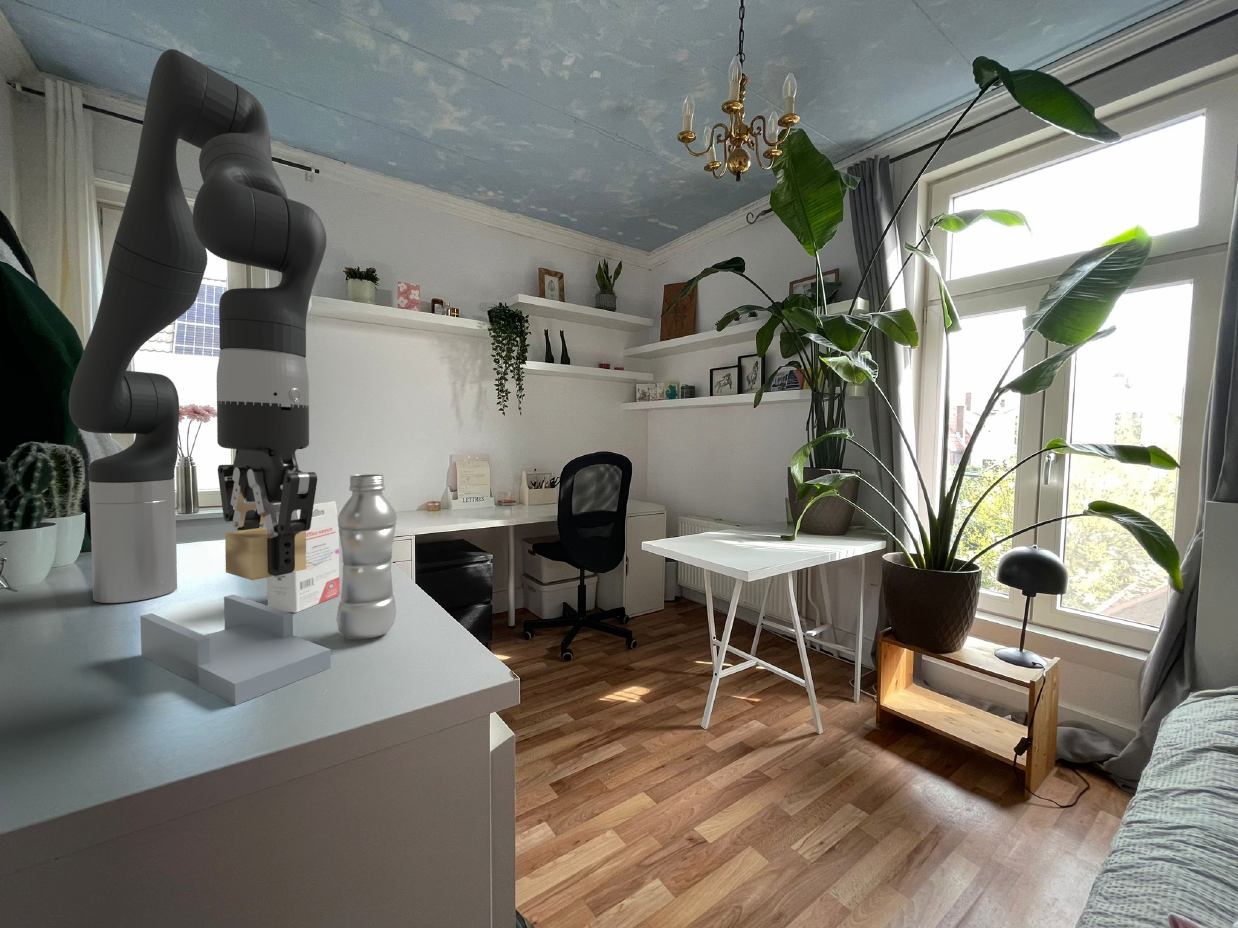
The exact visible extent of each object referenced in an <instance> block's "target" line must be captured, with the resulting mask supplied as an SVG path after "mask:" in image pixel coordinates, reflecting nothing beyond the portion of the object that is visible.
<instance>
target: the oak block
mask: <svg viewBox="0 0 1238 928" xmlns="http://www.w3.org/2000/svg"><path fill="white" fill-rule="evenodd" d="M224 535H225V536H224V538H225V539H224V540H225V541H224V543H225V545H224V547H225V548H224V549H225V573H226V574H230V575H232V576H237V577H239V578H244V579H247V580H249V581H256V580H261V579H267V577H271V576H273V575H270V574H269V573H268V553H267V538H269V536H268V533H267V529H266V526H265V527H264V526H263V527H259V528H257V529H249V530H241V531H238V530H234V531H227V532H225V533H224ZM305 569H306V531H301V532H299V534H297V535H295V569H294V571H293V572H295V571H300V570H305Z"/></svg>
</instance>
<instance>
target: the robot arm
mask: <svg viewBox="0 0 1238 928" xmlns="http://www.w3.org/2000/svg"><path fill="white" fill-rule="evenodd" d="M267 117H268V116H267V114H266V111H265V109H264V107H263V105H262V104H261V102H260V101H259V99H258V98H256V97H255V96H254V95H253V94H252V93H251V92H249V91H248V90H247V89H245V88H244V87H242V86H241V85H239V84H238V83H235V82H234V81H232V80H230V79H228V78H227V77H225V76H224V75H221V74H220V73H218V72H217V71H215V70H213V69H211V67H208V66H206V65H205V64H203V63H201V62H199V61H198V60H196V59H195V58H192V57H191V56H189V55H187V54H186V53H184V52H182V51H180V50H178V49H173V48H170V49H166V50H164V51H163V53H161V55H160V56H159V58H158V59H157V61H156V64H155V66H154V69H153V71H152V75H151V80H150V84H149V87H148V93H147V99H146V105H145V110H144V116H143V122H142V127H141V133H140V140H139V146H138V150H137V155H136V156H137V157H136V161H135V167H134V171H133V174H132V175H133V176H132V180H131V184H130V187H129V191H128V194H127V196H126V197H127V198H126V200H125V205H124V208H123V210H122V215H121V218H120V220H119V224H118V228H117V230H116V233H115V234H116V235H115V237H114V241H113V244H112V248H111V252H110V256H109V261H108V265H107V270H106V275H105V278H104V284H103V289H102V294H101V298H100V301H99V306H98V310H97V313H96V317H95V321H94V324H93V327H92V330H91V332H90V335H89V337H88V340H87V342H86V344H85V347H84V350H83V352H82V355H81V358H80V360H79V362H78V365H77V368H76V371H75V373H74V375H73V379H72V382H71V385H70V390H69V395H68V412H69V417H70V419H71V422H73V425H75V426H76V427H77V428H78V429H79V430H81V431H84V432H88V433H93V434H94V433H95V434H116V435H117V434H121V435H124V434H125V435H128V434H129V435H133V434H134V435H135V438H134V441H133V443H132V444H131V445H130V446H128V447H127V448H125V449H124V450H121V451H119V452H117V453H114V454H112V455H111V454H110V455H108V456H104V457H101V458H98V459H95V460H93V461H91V463H89V466H88V480H89V481H88V484H89V485H88V486H89V487H88V488H89V513H90V515H89V516H90V541H91V542H90V543H91V568H92V569H91V576H92V600H93V601H94V602H96V603H101V604H103V603H104V604H109V603H110V604H117V603H118V604H119V603H128V602H136V601H143V600H148V599H154V598H158V597H160V596H164V595H167V594H170V593H173V592H174V591H176V590H177V589H178V569H177V568H178V565H177V563H178V562H177V561H178V560H177V559H178V558H177V556H178V555H177V521H176V520H177V519H176V516H177V515H176V513H177V512H176V491H175V490H176V489H175V487H176V485H175V484H176V483H175V478H176V477H175V468H176V465H177V460H178V452H179V451H178V449H179V448H178V447H179V443H178V442H179V424H180V423H179V422H180V421H179V420H180V401H179V394H178V389H177V387H176V385H175V384H174V382H173V381H172V379H171V378H169V377H168V376H166V375H164V374H160V373H155V372H145V371H134V370H128V367H129V365H130V363H131V362H132V360H133V358H134V357H135V354H136V353H137V352H138V351H139V349H140V348H142V346H143V345H145V343H146V342H148V341H149V340H150V339H151V338H153V337H154V336H155V335H157V334H158V333H159V332H161V331H163V330H164V329H166V328H167V327H168V326H170V325H171V324H172V323H174V322H175V321H176V320H178V319H179V318H181V316H184V314H185V313H186V312H187V311H188V310H190V309H191V308H192V306H193V305H194V303H196V300H197V297H198V296H199V291H200V288H201V285H202V281H203V278H204V275H205V273H206V268H207V265H208V253H207V251H208V252H210V253H211V254H213V255H214V256H216V257H217V258H220V259H222V260H225V261H228V262H232V263H236V264H241V265H246V266H249V267H256V268H259V269H260V268H261V269H265V270H270V271H273V272H278V273H281V278H280V282H279V284H278V285H277V286H274V287H260V288H259V287H243V288H242V287H240V288H239V287H238V288H230V289H227V290H226V291H224V292H223V293H222V295H221V296H220V299H219V306H218V321H219V322H218V323H219V325H218V326H219V328H218V329H219V333H218V334H219V356H218V363H217V369H216V427H217V428H216V437H217V440H216V441H217V445H219V446H220V448H223V449H231V450H235V455H234V459H233V464H219V465H218V467H217V477H218V482H219V484H218V485H219V493H220V500H221V505H222V506H221V507H222V513H223V514H222V515H223V519H224V521H225V522H226V523H228V522H232V523H231V524H232V527H233V530H234V531H241V530H249V529H257V528H263V527H264V525H265V527H266V529H267V533H268V536H269V538H267V553H268V573H269V574H270V575H273V576H279V575H284V574H288V573H292V572H293V571H294V569H295V535H297V534H299V532H301V531H308V530H309V529H310V527H311V520H312V517H313V513H314V512H313V506H314V504H315V499H316V498H315V497H316V490H317V484H318V474H317V473H316V472H315V471H313V472H312V471H310V472H309V471H308V472H307V471H302V470H300V469H299V465H298V461H297V455H296V451H297V450H305V449H306V448H307V447H309V446H310V445H309V444H310V379H309V373H308V367H307V316H308V315H307V314H308V309H309V305H310V301H311V297H312V291H313V287H314V285H315V281H316V278H317V275H318V273H319V270H320V268H321V264H322V261H323V259H324V255H325V252H326V249H327V241H328V240H327V232H326V229H325V226H324V223H323V221H322V219H321V218H320V216H319V214H318V213H317V211H315V210H314V209H313V208H311V206H308V205H306V204H305V203H302V202H300V201H296V200H293V199H289V198H288V195H287V192H286V189H285V187H284V184H283V182H282V180H281V178H280V175H279V174H278V172H277V170H276V168H275V167H274V165H273V158H272V157H273V156H272V145H271V137H270V136H271V135H270V129H269V121H268V118H267ZM178 140H181V141H183V142H185V143H188V144H190V145H192V146H195V147H196V148H198V149H201V151H200V153H199V159H198V164H199V165H198V167H199V171H200V175H201V179H202V182H203V183H202V185H201V186H200V188H199V190H198V192H197V194H196V197H195V200H194V204H193V211H192V210H191V208H190V206H189V203H188V200H187V198H186V195H185V192H184V189H183V186H182V182H181V179H180V175H179V169H178V165H177V164H178V163H177V162H178V161H177V147H178ZM297 510H301V511H300V519H298V516H297ZM277 515H278V519H277Z"/></svg>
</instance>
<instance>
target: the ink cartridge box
mask: <svg viewBox="0 0 1238 928" xmlns="http://www.w3.org/2000/svg"><path fill="white" fill-rule="evenodd" d="M337 510H338V507H337V502H336V501H335V500H332V501H328V502H319V503H314V506H313V513H314V512H315V511H317V512H318V513H319V512H322V514H321V515H317V516H312V520H311V527H310V529H309V530H308V531H306V569H305V570H300V571H295V572H292V573H288V574H284V575H279V576H271V577H267V578H266V588H267V592H266V593H267V606H270V607H273V608H276V609H279V610H282V611H285V612H288V613H291V614H293V613H294V614H295V613H296V614H297V613H300V612H302V611H304V610H307V609H310V608H311V607H314V606H316V605H319V604H321V603H323V602H326V601H328V600H330V599H333V598H335V597H338V596H339V595H341V591H340V536H339V528H338V511H337ZM300 511H301V510H297V516H298V519H300Z"/></svg>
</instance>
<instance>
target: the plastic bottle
mask: <svg viewBox="0 0 1238 928" xmlns="http://www.w3.org/2000/svg"><path fill="white" fill-rule="evenodd" d="M348 489H349V491H350V492H352V493H351V496H350V497H349V499H348V500H347V501H346V503H345V504H344V505H343V507H342V508H341V510H340V511H339V514H338V516H337V518H338V528H339V543H340V547H341V560H342V561H341V563H342V582H341V591H340V600H339V603H338V605H337V611H336V612H337V613H336V624H337V629H338V632H339V633H340V634H341V635H342V636H343V638H345V639H348V640H366V639H367V640H368V639H372V638H376V637H381V636H382V635H384V634H387V633H388V632H389V631H390V630H391V629H392V628H393V626H394V624H395V621H396V615H397V608H396V600H395V596H394V590H393V588H394V587H393V578H392V576H393V575H392V557H393V544H394V540H395V533H396V527H397V526H396V525H397V512H396V510H395V509H394V507H393V505H392V504H391V503H390V501H388V500H387V498H386V497H385V495H384V494H383V491H385V490H386V486H385V478H384V474H378V473H377V474H374V473H372V474H369V473H367V474H366V473H365V474H351V475H350V477H349V487H348Z"/></svg>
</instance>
